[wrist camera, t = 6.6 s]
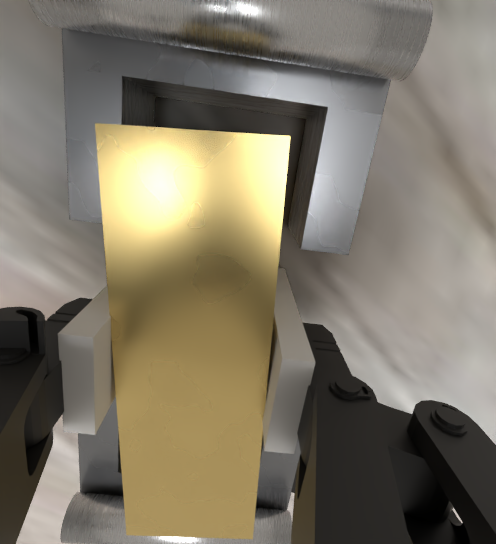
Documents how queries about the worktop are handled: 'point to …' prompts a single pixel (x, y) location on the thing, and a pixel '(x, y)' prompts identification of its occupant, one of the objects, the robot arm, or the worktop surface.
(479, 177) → the worktop surface
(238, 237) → the gold rectangular block
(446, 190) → the worktop surface
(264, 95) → the bracket
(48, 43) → the worktop surface
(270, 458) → the chain end
